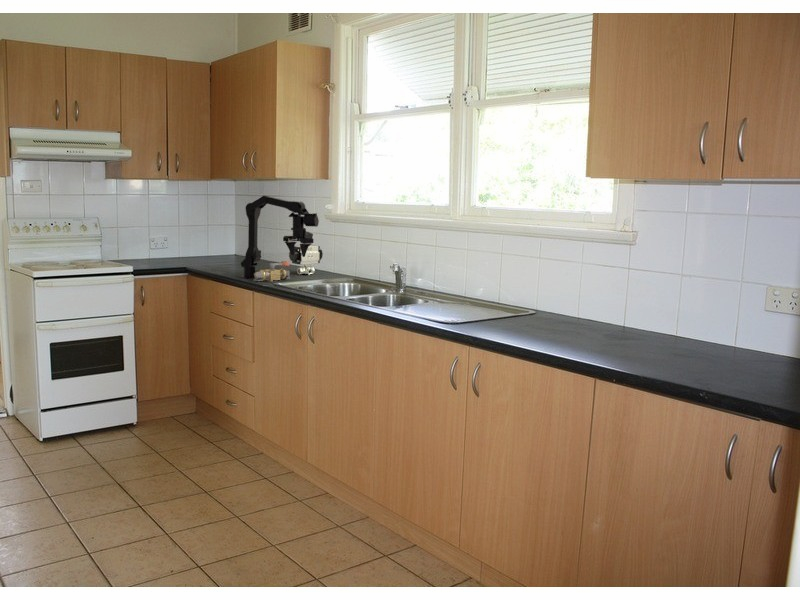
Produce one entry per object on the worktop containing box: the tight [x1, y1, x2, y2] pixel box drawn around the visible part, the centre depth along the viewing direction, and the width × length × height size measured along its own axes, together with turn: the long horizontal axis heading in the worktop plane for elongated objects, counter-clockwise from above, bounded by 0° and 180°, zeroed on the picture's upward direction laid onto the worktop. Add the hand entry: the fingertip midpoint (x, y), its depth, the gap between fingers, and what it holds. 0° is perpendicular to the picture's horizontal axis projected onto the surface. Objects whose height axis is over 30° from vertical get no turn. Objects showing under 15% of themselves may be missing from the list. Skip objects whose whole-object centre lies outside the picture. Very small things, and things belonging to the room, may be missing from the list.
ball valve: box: [288, 244, 324, 276], centre depth 402 cm, size 18×8×18 cm, turn 131°
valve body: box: [253, 267, 291, 282], centre depth 377 cm, size 20×6×6 cm, turn 136°
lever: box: [268, 260, 290, 270], centre depth 379 cm, size 12×4×4 cm, turn 131°
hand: (298, 256), depth 377 cm, fingers open, 9 cm apart
